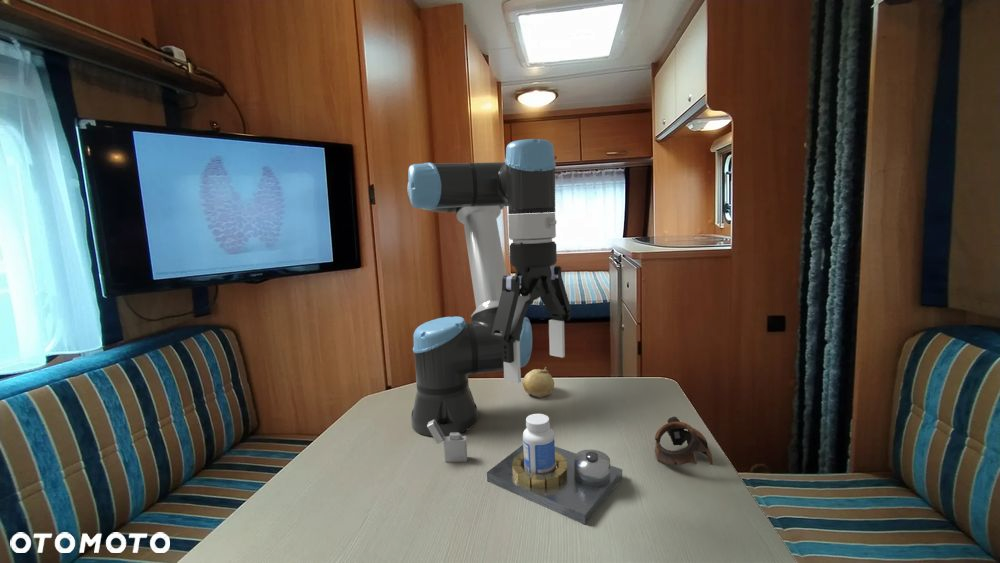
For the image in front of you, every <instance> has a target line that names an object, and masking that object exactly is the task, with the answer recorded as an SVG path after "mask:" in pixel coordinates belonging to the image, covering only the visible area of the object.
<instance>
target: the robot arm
mask: <svg viewBox="0 0 1000 563" xmlns="http://www.w3.org/2000/svg"><path fill="white" fill-rule="evenodd" d="M554 150H555V149H554V145H553V143H552V141H549V140H547V139H544V138H543V139H542V138H529V139H527V138H526V139H519V140H518V139H517V140H514V141H513V140H512V141H511V142H509V143H508V144H507V146H506V148H505V160H504V161H503V162H499V161H498V162H497V161H495V162H467V163H466V162H462V163H461V162H460V163H459V162H455V163H453V162H449V163H447V162H441V163H440V162H439V163H438V162H437V163H433V162H424V163H413V164H411V165H410V166H409V167H408V171H407V172H408V173H407V174H408V176H407V177H408V179H407V180H408V182H407V185H406V186H407V187H406V194H407V197H408V199H409V201H410V204H411V206H412V207H413V208H415V209H420V210H424V211H427V212H434V213H455V215H456V220H457V221H458V222H459V223H461V224H463V228H464V236H465V242H466V249H467V256H468V262H469V269H470V275H471V276H470V277H471V283H472V290H473V295H474V296H473V298H474V302H475V310H474V311H473V313H471V315H470V319H471V320H470V321H471V322H466V320H465V318H463V317H462V316H444V317H439V318H435V319H431V320H430V321H426V322H423V323H422V324H420V325H418V326H417V327H416V328H415V330H414V332H413V335H412V336H413V347H412V351H413V353H414V363H415V364H414V367H415V381H416V394H415V399H414V405H413V409H412V411H411V413H410V420H411V427H412V429H413V430H414V431H415V432H416V433H418V434H420V435H423V436H429V437H433V436H432V434H431V432H430V431H429V429H428V427H427V425H428V422H430V421H432V420H434V419H435V421H436V422H437V424H438V426H439V427H440V429H441V431H442V432H443V434H444V436H445V437H449V435H450V433H460V434H461V433H464V432H465V431H468V430H470V429H471V428H472V427H474V426H475V425H476V424H477V423H478V420H479V413H478V412H479V411H478V406H477V404H476V402H475V400H474V396H473V393H472V391H471V388H470V385H469V376H470V375H471V376H472V375H479V374H485V373H493V372H501V371H503V379H504V381H508V382H511V383H512V382H513V383H515V384H516V383H517V384H519V383H521V382H522V378H521V377H522V373H521V368H523V367H525V366H526V365H527V364H528V363H529V361H530V358H531V355H532V350H533V329H532V324H531V322H530V319H529V318H528V317H526V315H527V312H528V310H529V307H530V305H532V304H533V303H534V301H535V300H538V299H539V298H540V300H541V301H542V302H541V303H542V304H543V305H544V307H545V308H546V310H547V312H548V313H549V315H550V317H551V319H549V320H548V339H549V341H548V342H549V346H548V347H549V356H553V357H556V358H557V357H558V358H561V359H563V358H565V357H566V355H565V354H566V353H565V352H566V350H565V348H566V347H565V345H566V344H565V342H566V341H565V321H570V320H571V313H572V307H571V305H570V300H569V298H568V297H569V296H568V294H567V290H566V287H565V284H564V281H563V274H562V267H561V266H560V265H556V264H557V258H558V256H557V254H558V253H557V243H556V241H554V240H553V239H555V238H556V237H557V234H556V233H557V231H556V228H557V227H556V225H557V220H556V166H557V164H556V160H555V151H554ZM505 207H508V211H507V213H508V218H507V219H508V239H509V240H512V243H510V244H509V262H510V265H511V266H512V267H514V268H515V275H507V271H506V264H505V258H504V253H503V248H502V243H501V242H502V241H501V237H500V231H499V227H498V226H499V225H498V220H497V219H498V218H499V216H500V215H501V213H502V212H501V211H502V210H503V209H504V208H505Z"/></svg>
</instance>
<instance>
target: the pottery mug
mask: <svg viewBox="0 0 1000 563" xmlns="http://www.w3.org/2000/svg"><path fill="white" fill-rule="evenodd" d="M665 433H666V434H667V433H668V434H667V435H668V436H669V438H670V441H671V443H672V445H673V446H682V445H683V444H684V443H685V442H686V445H687V446H685V447H682V448H681V449H677V450H670V449H667V448H665V447H663V446H662V445H661V443H660V442H661V438H662V436H663V435H664V434H665ZM654 440H655V447H654V453H655V459H656V460H657V462H661V463H664V464H666V465H667V464H668V465H670V466H677V465H679V466H681V465H684V464H688V463H691V464H695V465H697V460H696V456H695V452H696V453H701V454H702V455H704V456H706V458H707V459H708V462H709V464H710V465H713V463H714V462H713V455H712V452H711V449H710V448H709V444H708V440H707V438H706V437H705V436H704V435H703V433H701V432H700V431H699V430H698V429H696V428H694V427H692V426H691V425H690V424H688V423H686V422H684V421H680V419H679V418H678V417H676V416H672V417H669V418H668V419H667V423H665V424H664V425H662V426H661V427H660V428H658V430H657V431H656V433H655V436H654Z"/></svg>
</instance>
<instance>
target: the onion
mask: <svg viewBox="0 0 1000 563" xmlns="http://www.w3.org/2000/svg"><path fill="white" fill-rule="evenodd" d="M522 380H523V381H522V387H523V389H524V390H523V391H525V393H526V394H527V395H529V396H530V397H533V396H534V397H536V398H544V397H548V396H549V395H550V394H552V392H553V391H554V387H555V381H554V378H553V376H552V375H551V374H550V373H549V371H548V370H547V366H545V367H544V369H540V368H537V369H536V368H534V369H532V370H530V371H529V372H527V373H526V374H525V376H524V377H523V379H522Z"/></svg>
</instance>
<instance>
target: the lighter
mask: <svg viewBox="0 0 1000 563" xmlns="http://www.w3.org/2000/svg"><path fill="white" fill-rule="evenodd" d="M427 427H428V429H429V431H430V432H431V434H432V436H431V437H433V439H434V440H435V442H436V444H440V443H442V442H443V451H444V453H443V454H444V462H445V463H460V462H461V463H463V462H467V461H468V446H467V443H468V442H467V436H466V435H462V434H461V433H450V435H449V436H444V434H443V432H442V431H441V429H440V427H439V426H438V424H437V422H436V421H435V419H434V420H432V421H430V422H428V425H427Z"/></svg>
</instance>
